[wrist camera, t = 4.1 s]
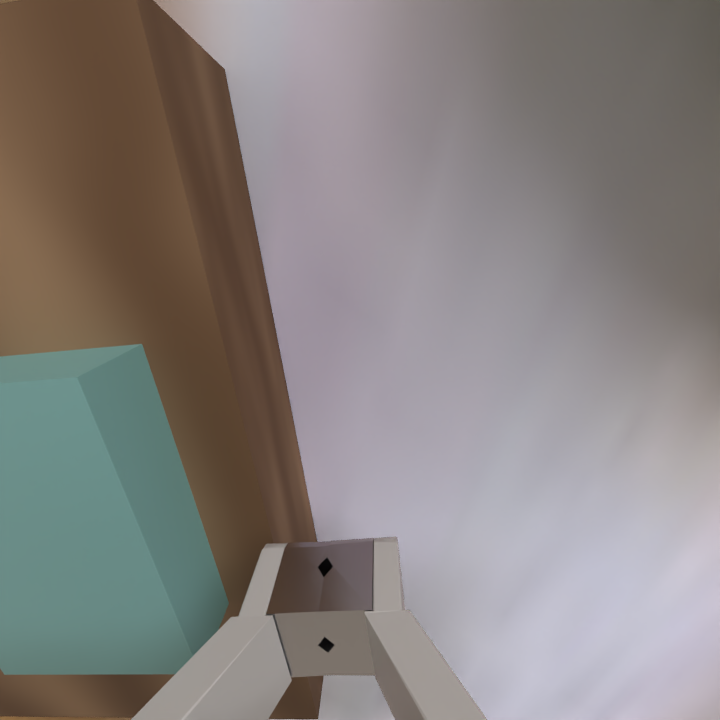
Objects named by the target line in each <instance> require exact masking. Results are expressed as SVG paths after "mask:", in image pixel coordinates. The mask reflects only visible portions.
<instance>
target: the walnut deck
mask: <svg viewBox="0 0 720 720" xmlns="http://www.w3.org/2000/svg"><path fill="white" fill-rule="evenodd" d="M135 344H142V345H143V348H144V351H145V354H146V357H147V360H148V363H149V366H150V369H151V372H152V375H153V378H154V381H155V384H156V387H157V390H158V393H159V396H160V399H161V402H162V405H163V408H164V411H165V414H166V417H167V420H168V423H169V426H170V429H171V432H172V435H173V438H174V441H175V444H176V447H177V450H178V453H179V456H180V459H181V462H182V465H183V468H184V471H185V473H186V476H187V479H188V482H189V485H190V488H191V491H192V494H193V497H194V500H195V503H196V506H197V509H198V512H199V515H200V518H201V521H202V524H203V527H204V530H205V533H206V536H207V539H208V542H209V545H210V548H211V551H212V554H213V557H214V560H215V563H216V566H217V569H218V572H219V575H220V578H221V581H222V584H223V587H224V590H225V593H226V596H227V599H228V602H229V604H228V607H227V609H226V612H225V614H224V617H223V620H222V622H221V625H220V627H219V629H220V628H221V627H222V626H223V625H224V624H225V623H226V622H227V621H228V620H229V619H230V618H231V617H236V616H238V615H239V612H240V610H241V607H242V604H243V601H244V598H245V596H246V593H247V590H248V587H249V584H250V582H251V579H252V576H253V573H254V570H255V567H256V565H257V562H258V559H259V556H260V553H261V551H262V549H263V548H264V546H265V545H266V544H273V543H294V542H317V539H316V534H315V529H314V523H313V518H312V513H311V508H310V503H309V498H308V493H307V488H306V483H305V478H304V472H303V467H302V462H301V457H300V452H299V447H298V442H297V437H296V432H295V426H294V421H293V416H292V411H291V406H290V401H289V396H288V391H287V386H286V380H285V375H284V370H283V365H282V360H281V355H280V350H279V345H278V340H277V334H276V329H275V324H274V319H273V314H272V309H271V304H270V299H269V294H268V289H267V283H266V278H265V273H264V268H263V263H262V258H261V253H260V248H259V243H258V237H257V232H256V227H255V222H254V217H253V212H252V207H251V202H250V197H249V191H248V186H247V181H246V176H245V171H244V166H243V161H242V156H241V151H240V146H239V140H238V135H237V130H236V125H235V120H234V115H233V110H232V105H231V100H230V94H229V89H228V84H227V79H226V74H225V69H224V68H223V67H222V66H220V65H219V64H218V63H217V62H216V61H215V60H214V59H213V58H212V57H211V56H210V55H209V54H208V53H207V52H206V51H205V50H204V49H203V48H202V47H201V46H200V45H199V44H198V43H197V42H196V41H195V40H194V39H193V38H191V37H190V36H189V35H188V34H187V33H186V32H185V31H184V30H183V29H182V28H181V27H180V26H179V25H178V24H177V23H176V22H175V21H174V20H173V19H172V18H171V17H170V16H169V15H168V14H167V13H166V12H165V11H164V10H162V9H161V8H160V7H159V6H158V5H157V4H156V3H155V2H154V1H153V0H19V1H14V2H8V3H3V4H0V357H1V356H12V355H23V354H34V353H45V352H57V351H68V350H79V349H90V348H102V347H113V346H124V345H135ZM174 675H175V674H90V675H4V673H3V672H2V670H1V669H0V716H25V717H134V716H135V715H136V714H137V713H138V712H139V711H140V710H141V709H142V708H143V707H144V706H145V705H146V704H147V703H148V702H149V701H150V700H151V699H152V698H153V697H154V696H155V694H156V693H157V692H158V691H159V690H160V689H161V688H162V687H163V686H164V685H165V684H166V683H167V682H168V681H169V680H170V679H171V678H172V677H173V676H174ZM291 679H292V681H291V683H290V684H289V686H288V688H287V689H286V691H285V692H284V694H283V696H282V697H281V699H280V701H279V702H278V704H277V705H276V707H275V709H274V710H273V712H272V714H271V715H270V717H269V718H268V719H318V715H319V707H320V699H321V691H322V683H323V676H307V677H291Z"/></svg>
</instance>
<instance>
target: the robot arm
mask: <svg viewBox="0 0 720 720" xmlns="http://www.w3.org/2000/svg"><path fill="white" fill-rule="evenodd" d="M324 675H375V677H376V680H377V682H378V684H379V686H380V688H381V691H382V693H383V695H384V697H385V699H386V701H387V703H388V705H389V707H390V710H391V712H392V714H393V716H394V718H395V720H487V719H486V717H485V716H484V714H483V713H482V712H481V710H480V709H479V707H478V706H477V705H476V703H475V702H474V700H473V699H472V698H471V696H470V695H469V693H468V692H467V691H466V689H465V688H464V686H463V685H462V683H461V682H460V681H459V679H458V678H457V676H456V675H455V674H454V672H453V671H452V669H451V668H450V667H449V665H448V664H447V662H446V661H445V659H444V658H443V657H442V655H441V654H440V652H439V651H438V650H437V648H436V647H435V645H434V644H433V643H432V641H431V640H430V638H429V637H428V635H427V634H426V633H425V631H424V630H423V628H422V627H421V626H420V624H419V623H418V621H417V620H416V619H415V617H414V616H413V614H412V613H411V611H410V610H405V605H404V595H403V585H402V575H401V566H400V557H399V547H398V539H397V537H383V538H375V539H374V538H366V539H351V540H336V541H330V542H294V543H273V544H266V545H265V546H264V548H263V549H262V551H261V553H260V556H259V559H258V562H257V565H256V567H255V570H254V573H253V576H252V579H251V582H250V584H249V587H248V590H247V593H246V596H245V598H244V601H243V604H242V607H241V610H240V612H239V615H238V616H236V617H231V618H230V619H229V620H228V621H227V622H226V623H225V624H224V625H223V626H222V627H221V628H220V629H219V630H218V631H217V632H216V633H215V634H214V635H213V636H212V637H211V638H210V639H209V640H208V641H207V642H206V643H205V644H204V645H203V646H202V647H201V648H200V649H199V650H198V651H197V652H196V653H195V654H194V655H193V657H192V658H191V659H190V660H189V661H188V662H187V663H186V664H185V665H184V666H183V667H182V668H181V669H180V670H179V671H178V672H177V673H176V674H175V675H174V676H173V677H172V678H171V679H170V680H169V681H168V682H167V683H166V684H165V685H164V686H163V687H162V688H161V689H160V690H159V691H158V692H157V693H156V694H155V696H154V697H153V698H152V699H151V700H150V701H149V702H148V703H147V704H146V705H145V706H144V707H143V708H142V709H141V710H140V711H139V712H138V713H137V714H136V715H135V716H134V717H133V718H132V719H131V720H268V718H269V717H270V715H271V714H272V712H273V710H274V709H275V707H276V705H277V704H278V702H279V701H280V699H281V697H282V696H283V694H284V692H285V691H286V689H287V688H288V686H289V684H290V683H291V681H292V679H291V677H307V676H324Z"/></svg>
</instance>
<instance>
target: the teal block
mask: <svg viewBox="0 0 720 720" xmlns="http://www.w3.org/2000/svg"><path fill="white" fill-rule="evenodd" d="M228 604H229V602H228V599H227V596H226V593H225V590H224V587H223V584H222V581H221V578H220V575H219V572H218V569H217V566H216V563H215V560H214V557H213V554H212V551H211V548H210V545H209V542H208V539H207V536H206V533H205V530H204V527H203V524H202V521H201V518H200V515H199V512H198V509H197V506H196V503H195V500H194V497H193V494H192V491H191V488H190V485H189V482H188V479H187V476H186V473H185V471H184V468H183V465H182V462H181V459H180V456H179V453H178V450H177V447H176V444H175V441H174V438H173V435H172V432H171V429H170V426H169V423H168V420H167V417H166V414H165V411H164V408H163V405H162V402H161V399H160V396H159V393H158V390H157V387H156V384H155V381H154V378H153V375H152V372H151V369H150V366H149V363H148V360H147V357H146V354H145V351H144V348H143V345H142V344H135V345H124V346H113V347H102V348H90V349H79V350H68V351H57V352H45V353H34V354H23V355H12V356H1V357H0V669H1V670H2V672H3V673H4V675H90V674H176V673H177V672H178V671H179V670H180V669H181V668H182V667H183V666H184V665H185V664H186V663H187V662H188V661H189V660H190V659H191V658H192V657H193V655H194V654H195V653H196V652H197V651H198V650H199V649H200V648H201V647H202V646H203V645H204V644H205V643H206V642H207V641H208V640H209V639H210V638H211V637H212V636H213V635H214V634H215V633H216V632H217V631H218V630H219V627H220V625H221V622H222V620H223V617H224V614H225V612H226V609H227V607H228Z"/></svg>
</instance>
